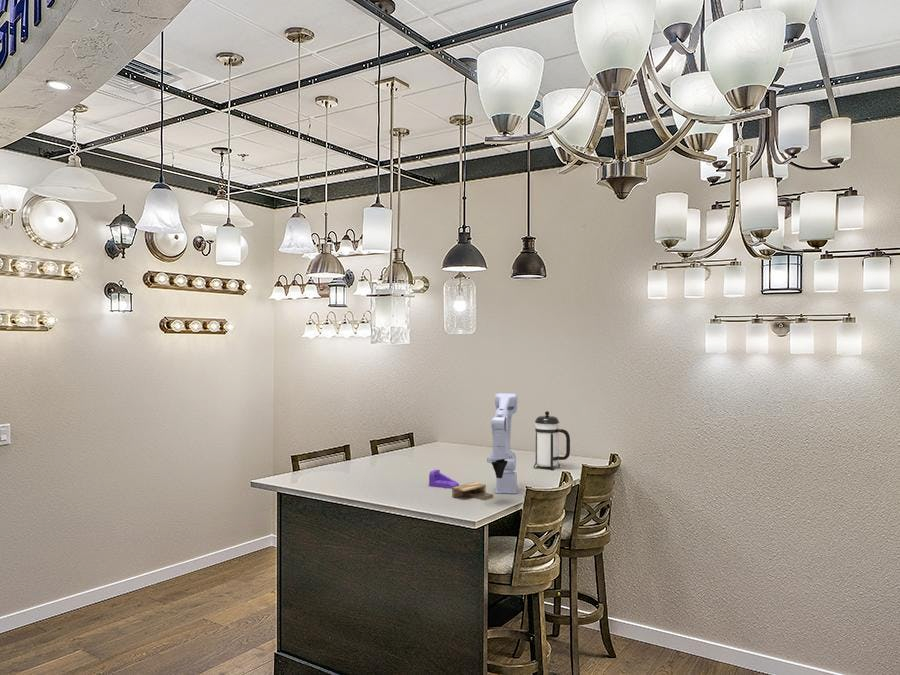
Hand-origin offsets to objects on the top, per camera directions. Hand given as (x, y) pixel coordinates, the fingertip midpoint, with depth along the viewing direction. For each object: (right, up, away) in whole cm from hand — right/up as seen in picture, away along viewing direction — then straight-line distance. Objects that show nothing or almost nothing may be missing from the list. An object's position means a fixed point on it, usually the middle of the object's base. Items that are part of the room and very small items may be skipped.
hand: (499, 477), depth 277 cm
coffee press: (+32, -11, +73) cm, 81 cm away
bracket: (-23, -10, +29) cm, 38 cm away
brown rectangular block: (-12, -10, +9) cm, 18 cm away
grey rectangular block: (-8, -10, +8) cm, 16 cm away
